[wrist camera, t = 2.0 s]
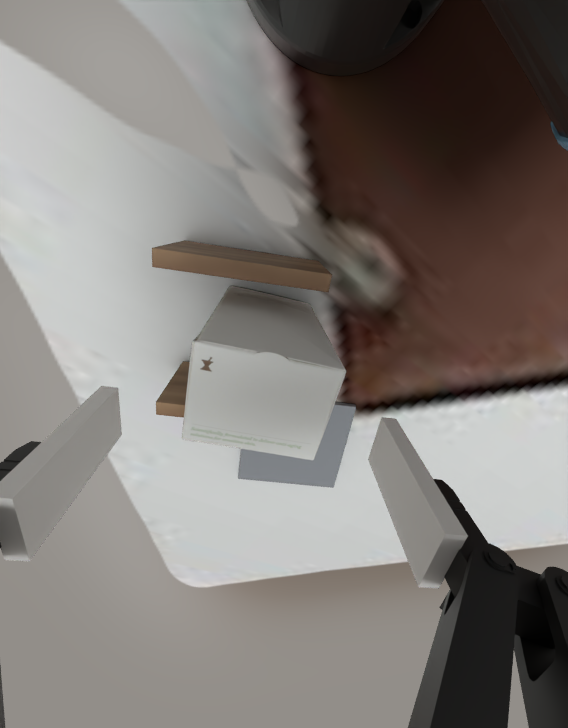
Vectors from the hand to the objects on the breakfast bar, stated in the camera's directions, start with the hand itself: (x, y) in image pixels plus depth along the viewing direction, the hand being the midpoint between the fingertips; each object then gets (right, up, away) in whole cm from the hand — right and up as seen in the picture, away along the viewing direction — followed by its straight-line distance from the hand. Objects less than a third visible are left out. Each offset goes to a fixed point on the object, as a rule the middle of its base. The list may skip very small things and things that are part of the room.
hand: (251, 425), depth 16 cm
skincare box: (0, +7, +15) cm, 17 cm away
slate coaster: (+3, -6, +21) cm, 22 cm away
